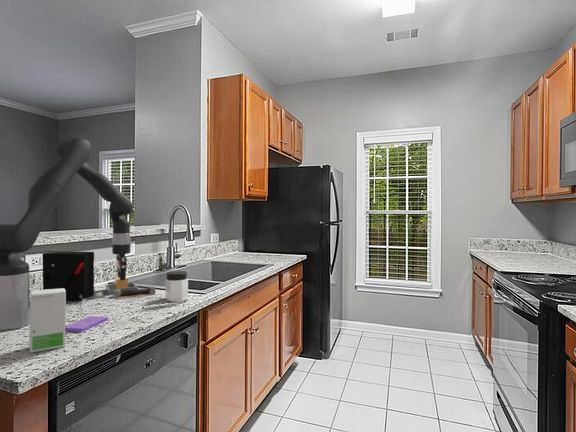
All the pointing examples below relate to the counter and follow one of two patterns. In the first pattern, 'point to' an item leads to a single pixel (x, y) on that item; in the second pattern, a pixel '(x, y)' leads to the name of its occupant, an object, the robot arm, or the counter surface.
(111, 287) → the tray
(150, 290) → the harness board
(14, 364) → the counter surface
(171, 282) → the jar
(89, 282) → the electrical component
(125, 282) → the orange block
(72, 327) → the sponges
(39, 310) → the skincare box
